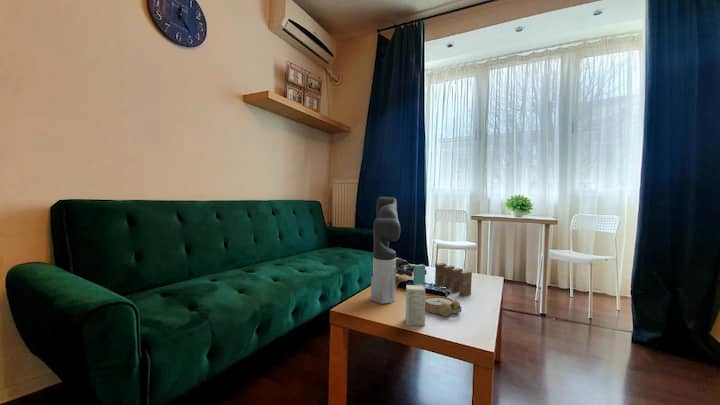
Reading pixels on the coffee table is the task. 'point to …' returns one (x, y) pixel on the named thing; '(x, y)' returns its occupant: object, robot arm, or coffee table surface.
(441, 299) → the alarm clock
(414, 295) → the skincare box
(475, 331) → the coffee table surface
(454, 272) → the domino
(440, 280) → the domino
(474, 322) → the coffee table surface
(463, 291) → the domino
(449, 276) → the domino
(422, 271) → the teal domino
